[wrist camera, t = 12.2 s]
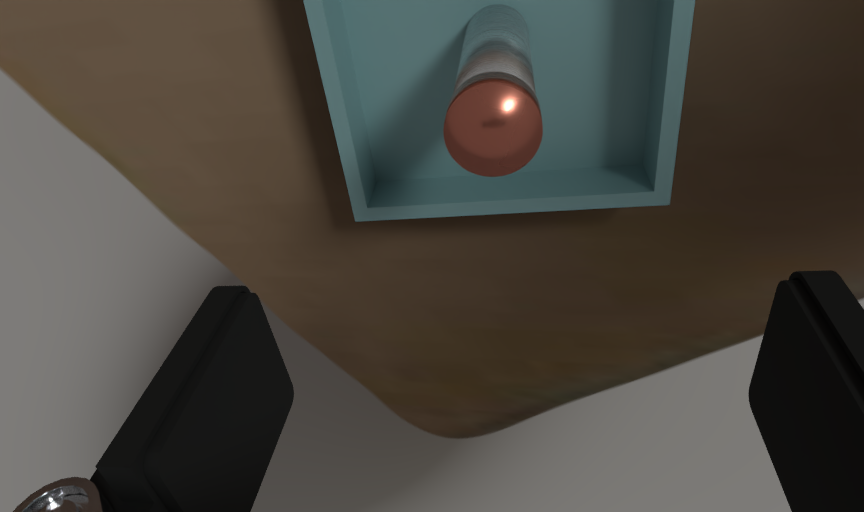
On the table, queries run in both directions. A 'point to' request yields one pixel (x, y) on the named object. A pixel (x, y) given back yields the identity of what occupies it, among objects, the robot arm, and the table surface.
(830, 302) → the robot arm
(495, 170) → the pin
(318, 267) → the table surface
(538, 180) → the tray
